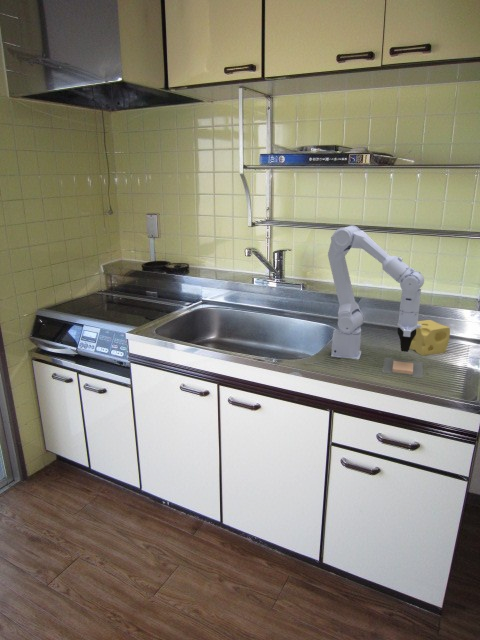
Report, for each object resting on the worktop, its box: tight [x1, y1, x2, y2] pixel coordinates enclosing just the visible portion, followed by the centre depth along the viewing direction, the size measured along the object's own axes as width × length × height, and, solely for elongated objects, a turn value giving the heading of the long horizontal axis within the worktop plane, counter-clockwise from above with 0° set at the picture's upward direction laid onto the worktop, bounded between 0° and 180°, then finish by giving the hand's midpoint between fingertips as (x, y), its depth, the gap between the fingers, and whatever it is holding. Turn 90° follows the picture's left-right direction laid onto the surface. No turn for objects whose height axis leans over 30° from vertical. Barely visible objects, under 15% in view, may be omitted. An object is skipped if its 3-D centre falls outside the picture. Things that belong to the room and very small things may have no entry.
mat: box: [381, 357, 424, 379], centre depth 148 cm, size 12×13×1 cm
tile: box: [392, 361, 413, 375], centre depth 146 cm, size 6×1×7 cm
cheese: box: [409, 319, 451, 357], centre depth 162 cm, size 10×11×10 cm
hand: (404, 350), depth 148 cm, fingers closed
